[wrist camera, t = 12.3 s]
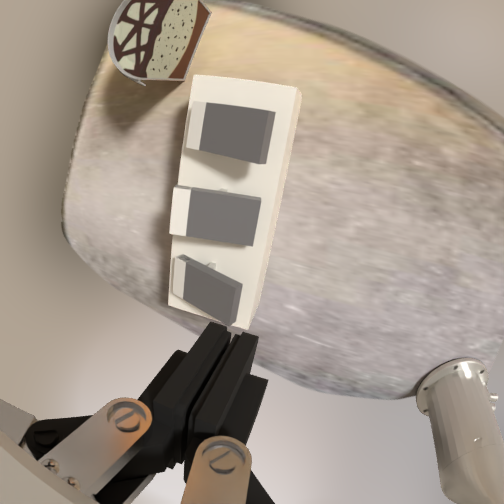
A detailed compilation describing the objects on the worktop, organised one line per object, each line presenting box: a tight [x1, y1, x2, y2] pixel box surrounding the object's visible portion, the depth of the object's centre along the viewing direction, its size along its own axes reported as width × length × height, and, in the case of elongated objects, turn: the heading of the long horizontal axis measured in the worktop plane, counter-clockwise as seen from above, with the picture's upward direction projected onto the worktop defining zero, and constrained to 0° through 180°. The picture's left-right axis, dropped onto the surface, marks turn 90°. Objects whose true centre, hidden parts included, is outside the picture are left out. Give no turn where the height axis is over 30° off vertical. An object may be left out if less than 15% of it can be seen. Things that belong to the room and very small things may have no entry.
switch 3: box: [173, 254, 243, 326], centre depth 33 cm, size 8×4×1 cm, turn 79°
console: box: [168, 75, 302, 330], centre depth 34 cm, size 10×26×7 cm, turn 170°
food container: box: [108, 0, 212, 86], centre depth 27 cm, size 12×6×10 cm, turn 159°
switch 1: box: [186, 101, 276, 164], centre depth 27 cm, size 8×4×1 cm, turn 79°
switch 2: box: [169, 185, 261, 247], centre depth 30 cm, size 8×4×1 cm, turn 80°
